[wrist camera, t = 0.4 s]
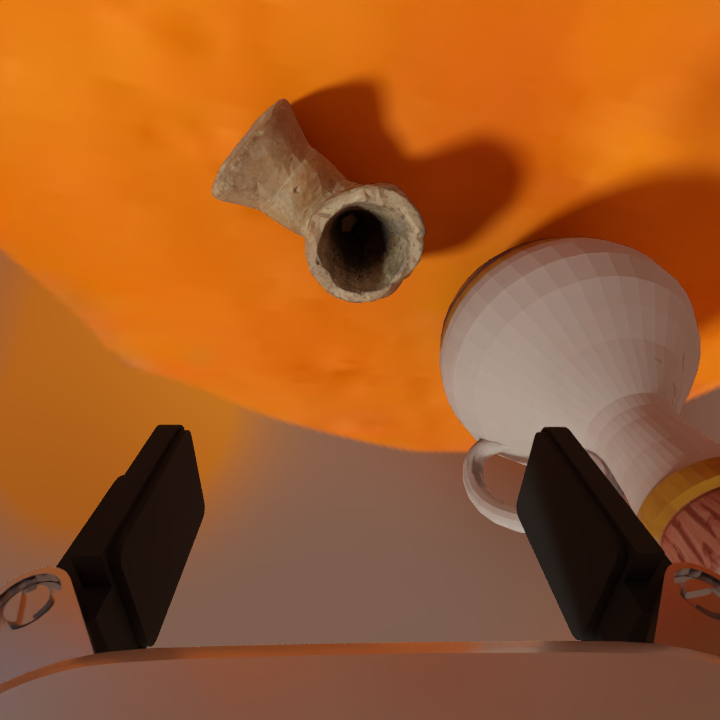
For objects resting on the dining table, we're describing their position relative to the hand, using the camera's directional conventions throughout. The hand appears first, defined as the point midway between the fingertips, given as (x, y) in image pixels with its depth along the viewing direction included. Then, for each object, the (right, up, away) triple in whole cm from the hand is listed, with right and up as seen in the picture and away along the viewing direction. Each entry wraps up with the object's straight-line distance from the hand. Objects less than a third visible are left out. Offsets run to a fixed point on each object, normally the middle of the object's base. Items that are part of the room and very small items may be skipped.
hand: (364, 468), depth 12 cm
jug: (+14, +8, +31) cm, 35 cm away
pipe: (-3, +17, +25) cm, 31 cm away
